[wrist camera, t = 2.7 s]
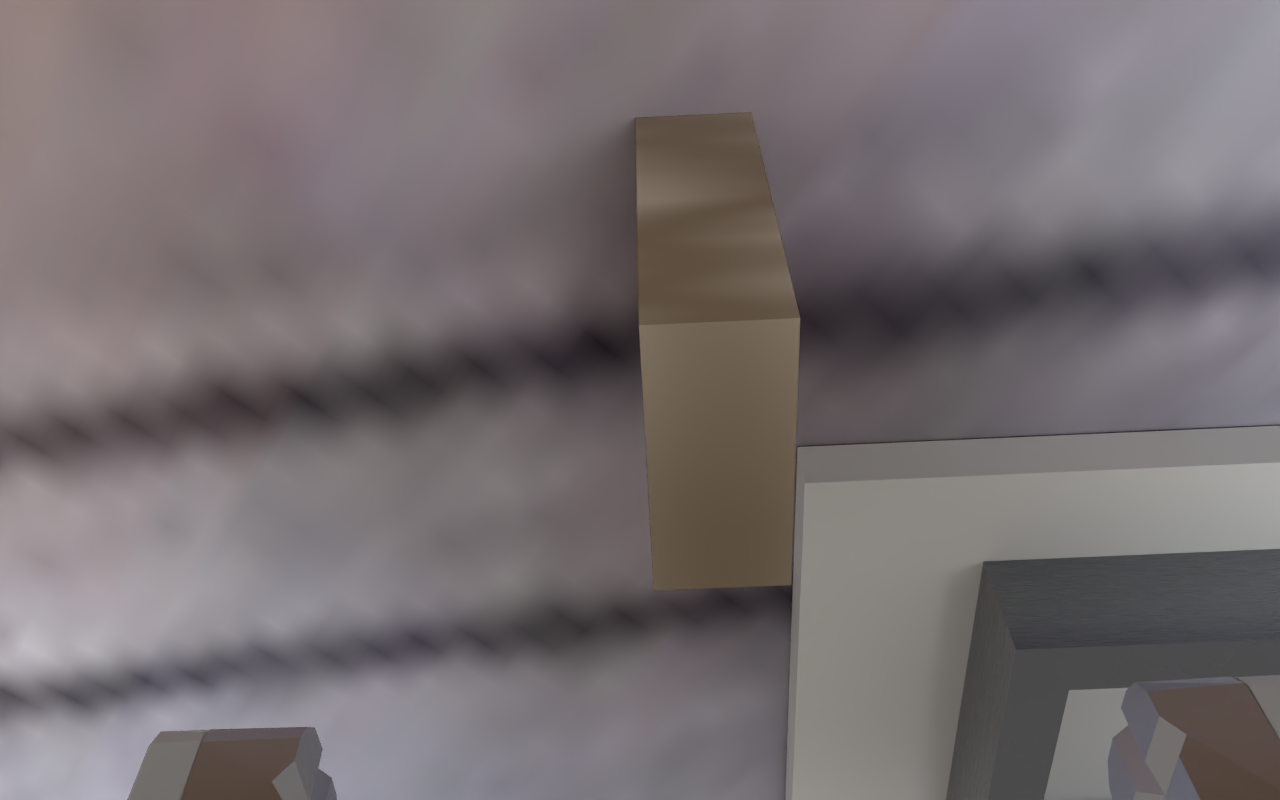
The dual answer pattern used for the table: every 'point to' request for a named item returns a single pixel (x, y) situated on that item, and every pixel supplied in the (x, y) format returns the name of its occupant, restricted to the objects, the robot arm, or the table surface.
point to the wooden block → (715, 355)
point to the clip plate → (950, 578)
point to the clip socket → (1098, 647)
